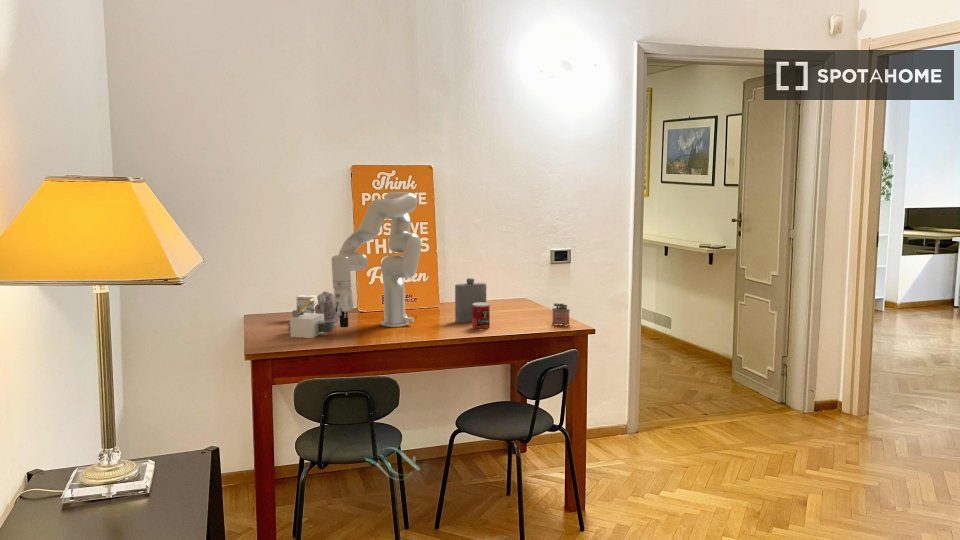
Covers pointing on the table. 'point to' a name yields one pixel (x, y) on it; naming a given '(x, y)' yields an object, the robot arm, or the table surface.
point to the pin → (320, 327)
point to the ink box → (303, 299)
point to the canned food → (481, 315)
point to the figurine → (327, 308)
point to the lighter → (560, 314)
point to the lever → (305, 306)
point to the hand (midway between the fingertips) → (344, 326)
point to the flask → (468, 299)
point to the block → (304, 324)
